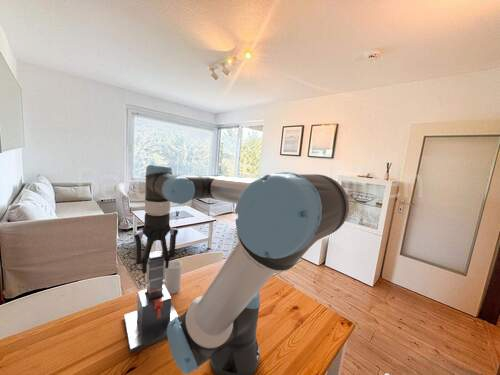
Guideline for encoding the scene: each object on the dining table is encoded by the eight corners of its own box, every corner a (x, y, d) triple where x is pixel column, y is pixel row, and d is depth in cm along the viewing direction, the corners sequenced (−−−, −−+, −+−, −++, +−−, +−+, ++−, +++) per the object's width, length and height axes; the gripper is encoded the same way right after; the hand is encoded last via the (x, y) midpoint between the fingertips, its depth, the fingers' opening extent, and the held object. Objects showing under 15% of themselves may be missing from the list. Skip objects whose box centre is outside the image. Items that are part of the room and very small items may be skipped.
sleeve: (183, 331, 72) (185, 297, 70) (130, 353, 62) (131, 315, 60) (169, 303, 84) (171, 274, 83) (124, 318, 75) (124, 286, 73)
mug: (181, 285, 97) (183, 260, 95) (179, 294, 90) (180, 268, 89) (158, 285, 95) (159, 260, 93) (154, 294, 88) (155, 268, 87)
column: (162, 315, 72) (165, 255, 69) (147, 320, 69) (150, 258, 66) (158, 307, 76) (161, 249, 73) (145, 311, 73) (147, 252, 70)
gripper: (180, 208, 76) (177, 267, 79) (125, 211, 66) (124, 280, 69) (187, 213, 70) (184, 277, 73) (128, 218, 60) (126, 293, 63)
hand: (155, 278), depth 71 cm, fingers closed on column, 4 cm apart
